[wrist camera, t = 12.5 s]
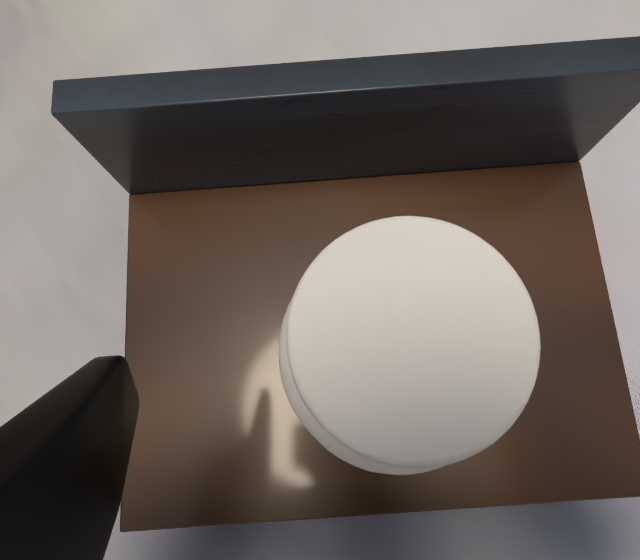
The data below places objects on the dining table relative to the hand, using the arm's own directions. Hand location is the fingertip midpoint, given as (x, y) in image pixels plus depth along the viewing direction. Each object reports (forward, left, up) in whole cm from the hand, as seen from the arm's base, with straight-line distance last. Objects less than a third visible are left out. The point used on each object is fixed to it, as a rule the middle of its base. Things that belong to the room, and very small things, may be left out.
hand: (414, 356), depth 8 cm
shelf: (+2, 0, -12) cm, 12 cm away
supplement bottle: (0, 0, -8) cm, 8 cm away
